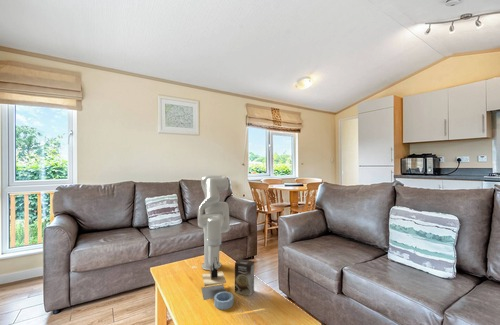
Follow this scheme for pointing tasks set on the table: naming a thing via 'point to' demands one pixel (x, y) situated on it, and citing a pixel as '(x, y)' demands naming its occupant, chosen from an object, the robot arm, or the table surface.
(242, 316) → the table surface
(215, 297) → the bowl
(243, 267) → the coffee box
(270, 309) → the table surface
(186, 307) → the table surface
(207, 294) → the mat
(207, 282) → the lid
